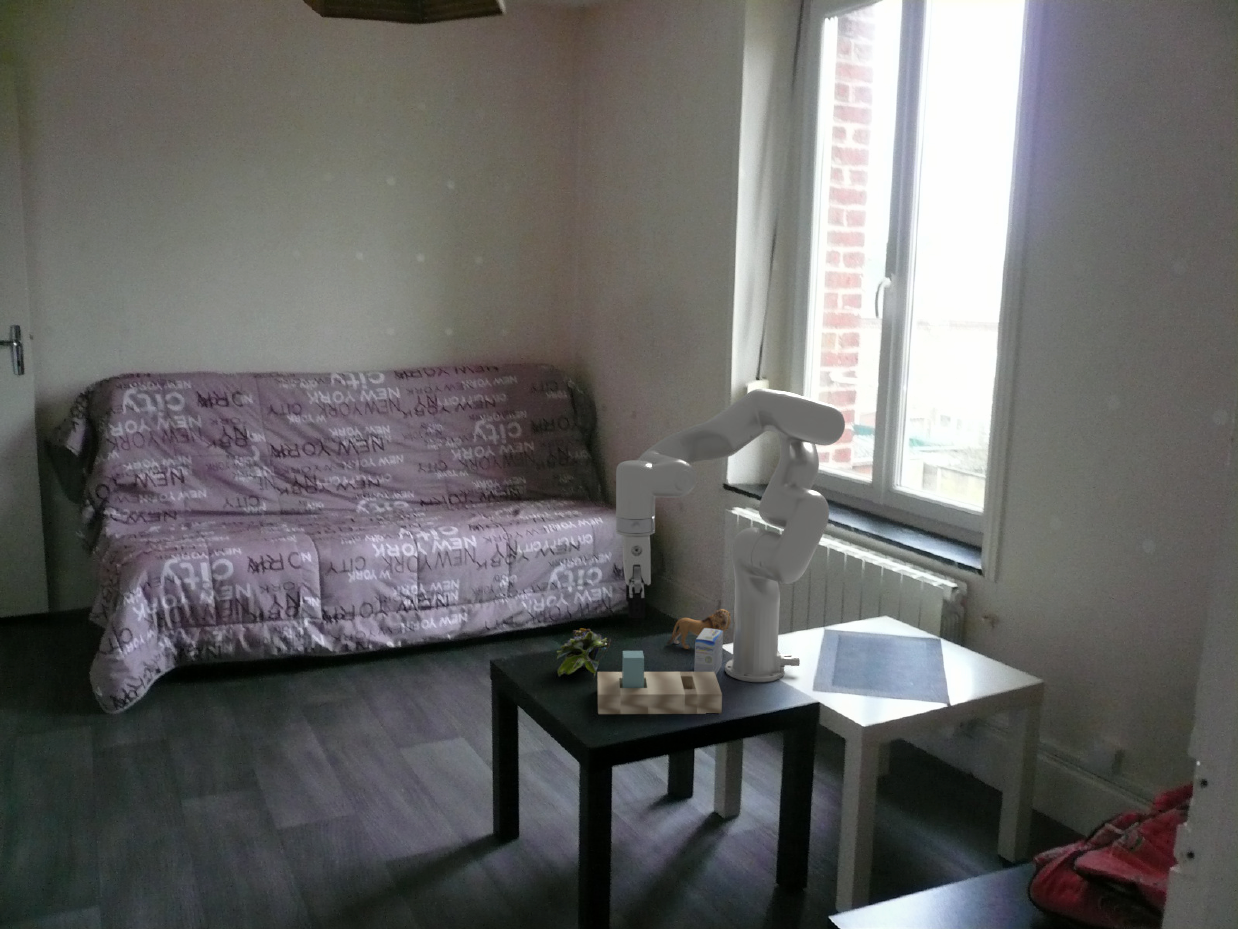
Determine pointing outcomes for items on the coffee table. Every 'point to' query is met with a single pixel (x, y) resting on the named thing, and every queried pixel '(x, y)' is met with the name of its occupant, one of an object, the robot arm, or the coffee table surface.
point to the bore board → (660, 694)
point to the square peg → (633, 669)
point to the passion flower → (582, 651)
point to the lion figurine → (700, 626)
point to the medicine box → (708, 651)
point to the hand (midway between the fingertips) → (635, 609)
